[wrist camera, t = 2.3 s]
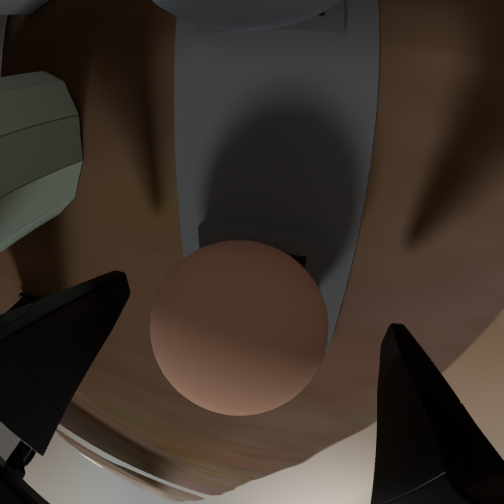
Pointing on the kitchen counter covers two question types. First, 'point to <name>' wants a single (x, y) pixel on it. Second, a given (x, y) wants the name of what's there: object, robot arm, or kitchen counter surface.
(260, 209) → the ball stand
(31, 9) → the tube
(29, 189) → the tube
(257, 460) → the kitchen counter surface
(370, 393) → the kitchen counter surface
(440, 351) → the kitchen counter surface
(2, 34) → the dot card
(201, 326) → the ball terracotta
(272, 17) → the ball slate
